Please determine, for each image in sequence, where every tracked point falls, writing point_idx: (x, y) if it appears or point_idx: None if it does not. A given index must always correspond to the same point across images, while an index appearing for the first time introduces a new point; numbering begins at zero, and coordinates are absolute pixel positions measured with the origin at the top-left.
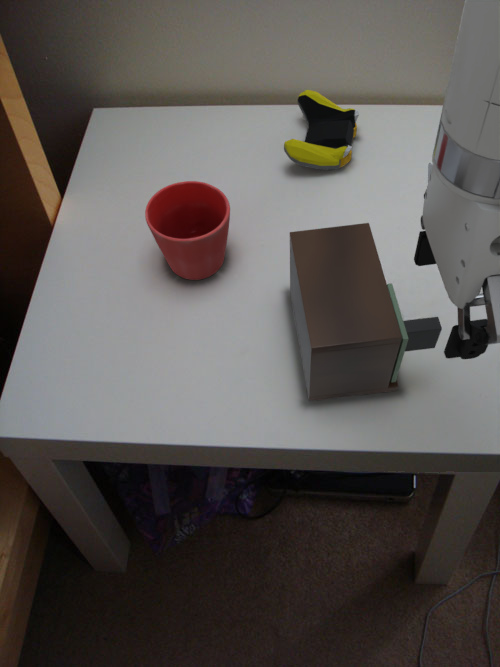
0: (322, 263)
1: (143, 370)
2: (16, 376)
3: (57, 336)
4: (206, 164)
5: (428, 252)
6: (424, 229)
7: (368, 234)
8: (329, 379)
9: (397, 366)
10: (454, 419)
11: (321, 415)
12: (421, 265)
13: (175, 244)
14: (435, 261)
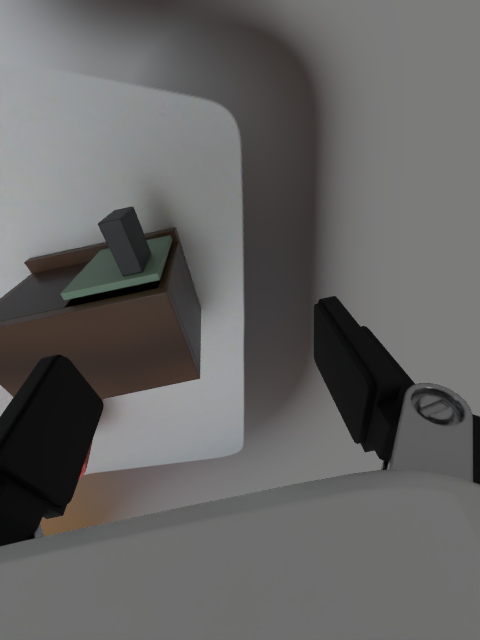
0: None
1: (191, 410)
2: (206, 458)
3: (174, 451)
4: None
5: (80, 434)
6: (43, 535)
7: None
8: (195, 316)
9: (167, 250)
10: (203, 159)
11: (213, 298)
12: (99, 398)
13: (87, 459)
14: (81, 385)
